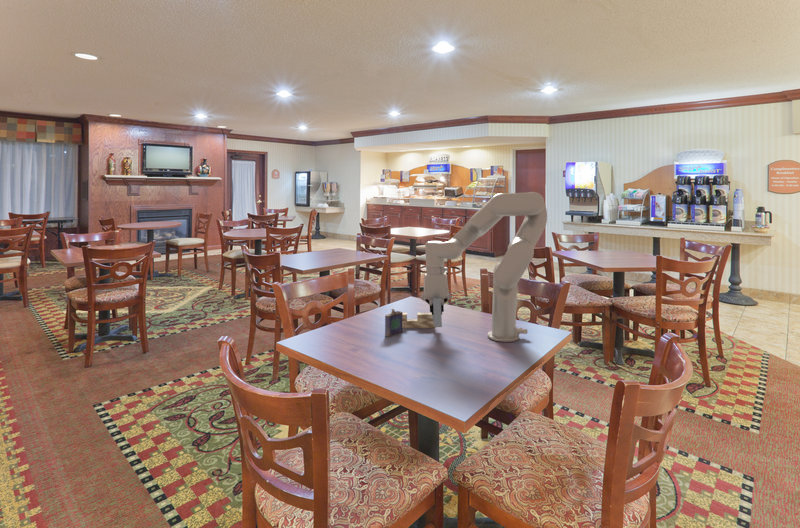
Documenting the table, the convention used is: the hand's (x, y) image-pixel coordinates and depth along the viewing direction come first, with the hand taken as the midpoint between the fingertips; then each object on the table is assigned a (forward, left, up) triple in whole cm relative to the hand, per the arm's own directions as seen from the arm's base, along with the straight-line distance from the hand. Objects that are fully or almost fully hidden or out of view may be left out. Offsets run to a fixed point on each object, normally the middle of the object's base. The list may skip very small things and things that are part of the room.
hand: (436, 313), depth 186 cm
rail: (+10, -8, -8) cm, 15 cm away
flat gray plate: (0, 0, -4) cm, 5 cm away
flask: (+18, +2, -9) cm, 20 cm away
